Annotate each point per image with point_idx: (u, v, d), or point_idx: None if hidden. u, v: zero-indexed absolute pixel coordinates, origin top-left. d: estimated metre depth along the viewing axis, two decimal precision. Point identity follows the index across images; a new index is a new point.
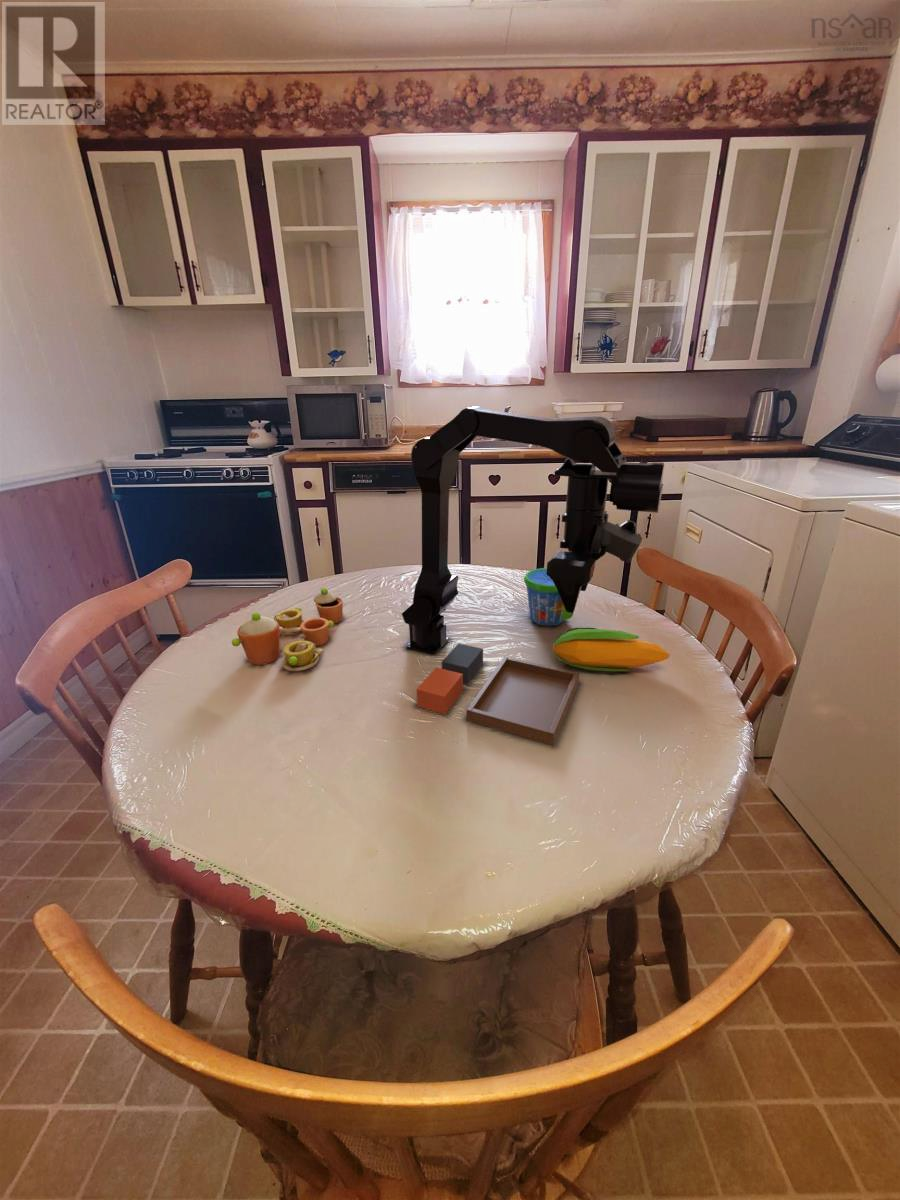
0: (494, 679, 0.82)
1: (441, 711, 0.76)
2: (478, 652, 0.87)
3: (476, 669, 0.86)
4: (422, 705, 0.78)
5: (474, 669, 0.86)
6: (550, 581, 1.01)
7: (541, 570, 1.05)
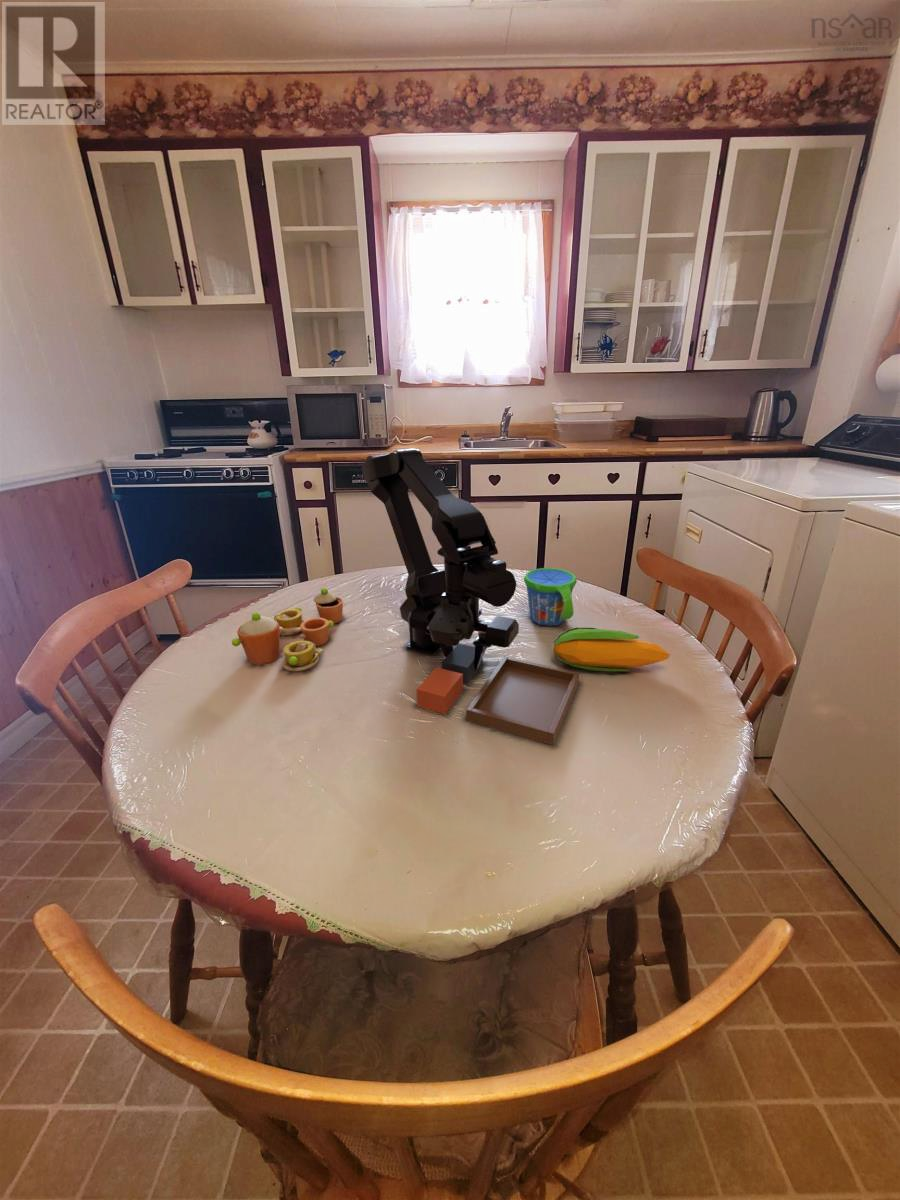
0: (494, 679, 0.82)
1: (441, 711, 0.76)
2: None
3: None
4: (422, 705, 0.78)
5: (474, 669, 0.86)
6: (550, 581, 1.01)
7: (541, 570, 1.05)
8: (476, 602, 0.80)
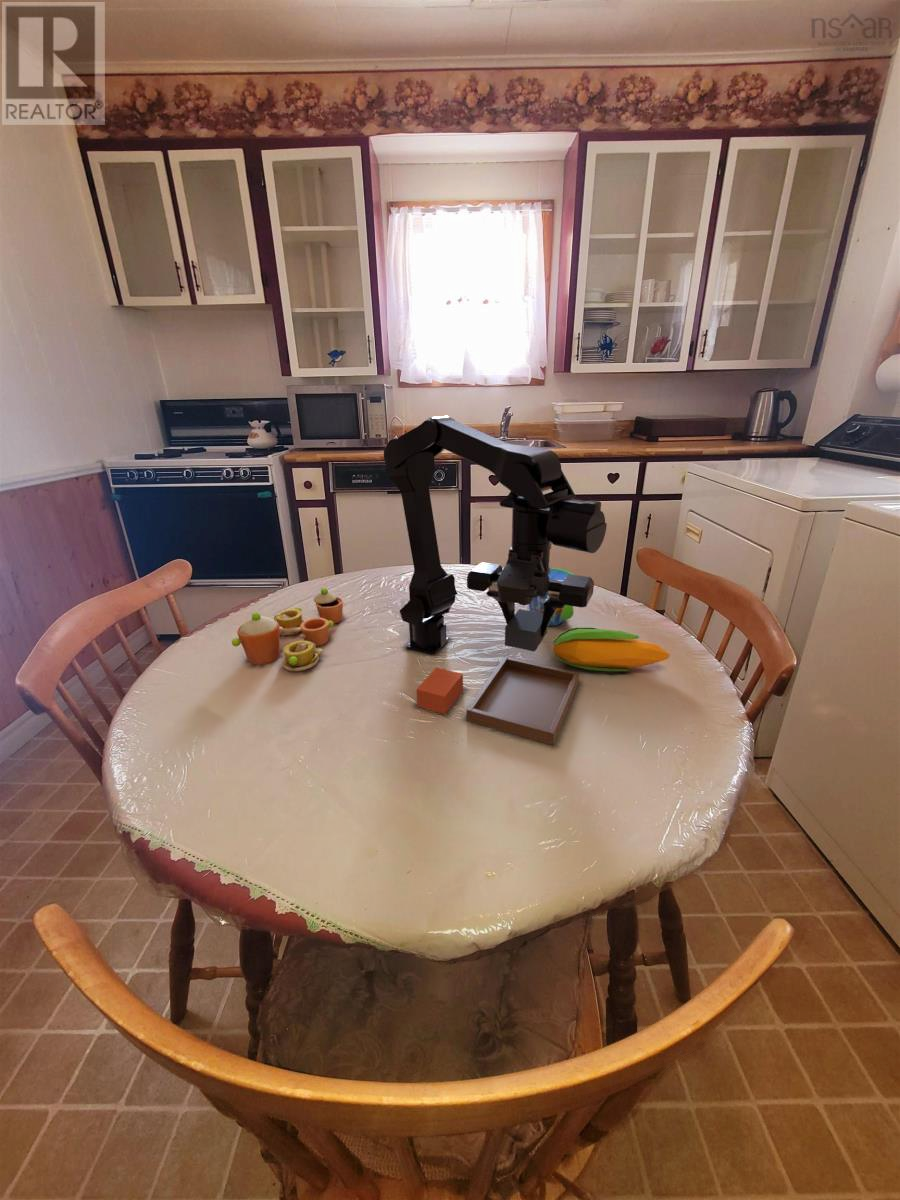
0: (494, 679, 0.82)
1: (441, 711, 0.76)
2: None
3: (542, 636, 0.77)
4: (422, 705, 0.78)
5: (540, 636, 0.76)
6: None
7: None
8: (547, 558, 0.71)
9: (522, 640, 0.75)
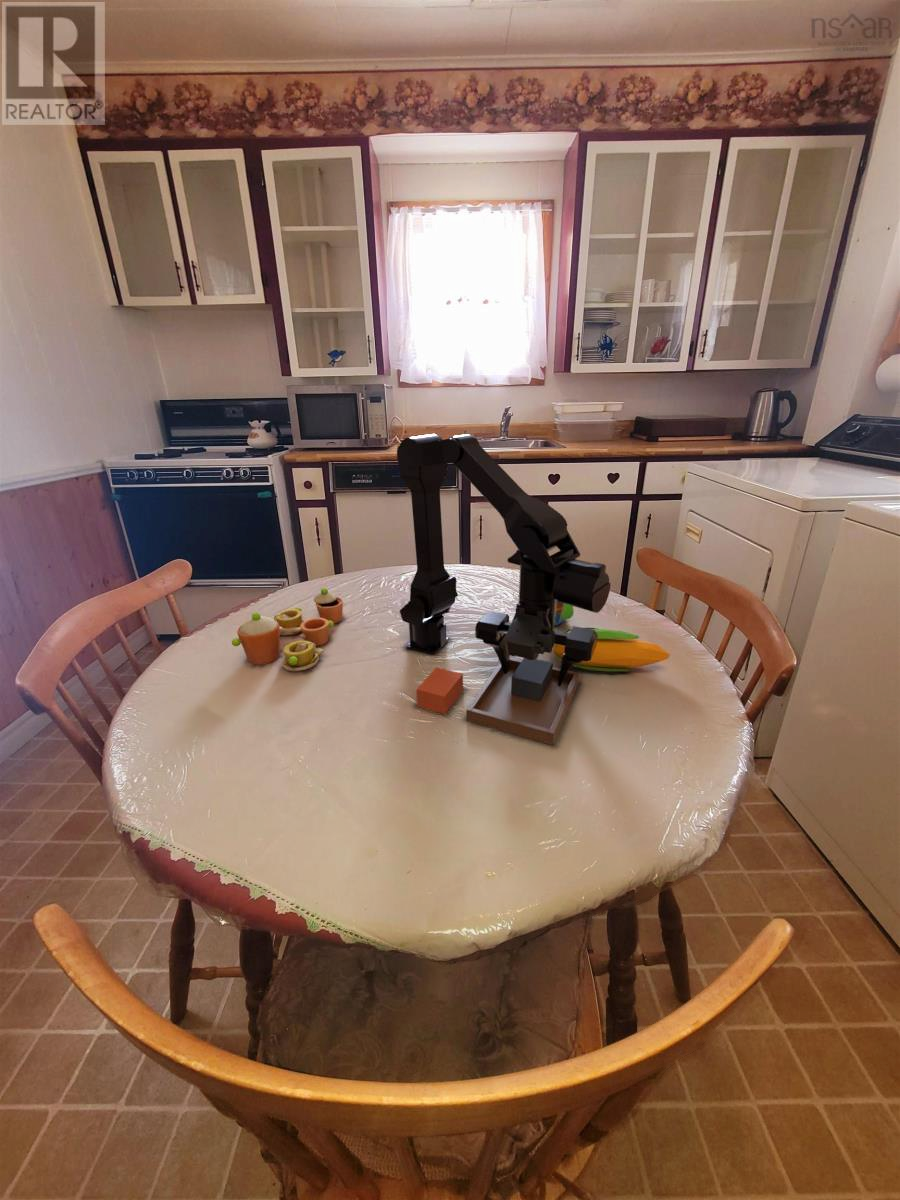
0: (494, 679, 0.82)
1: (441, 711, 0.76)
2: (548, 667, 0.81)
3: (547, 685, 0.81)
4: (422, 705, 0.78)
5: (545, 685, 0.80)
6: None
7: None
8: (553, 612, 0.74)
9: (528, 690, 0.78)
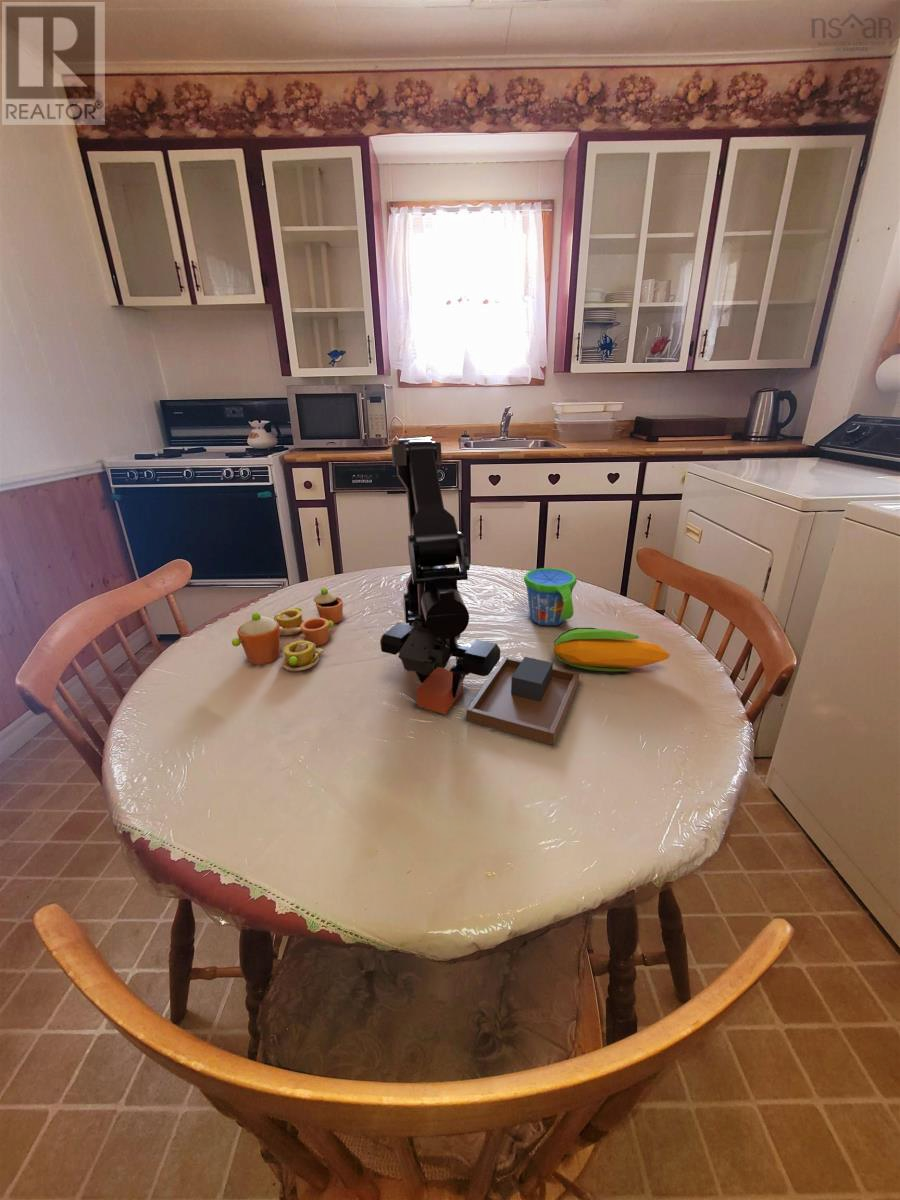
0: (494, 679, 0.82)
1: (441, 711, 0.76)
2: (548, 667, 0.81)
3: (547, 685, 0.81)
4: (422, 705, 0.78)
5: (545, 685, 0.80)
6: (550, 581, 1.01)
7: (541, 570, 1.05)
8: None
9: (528, 690, 0.78)
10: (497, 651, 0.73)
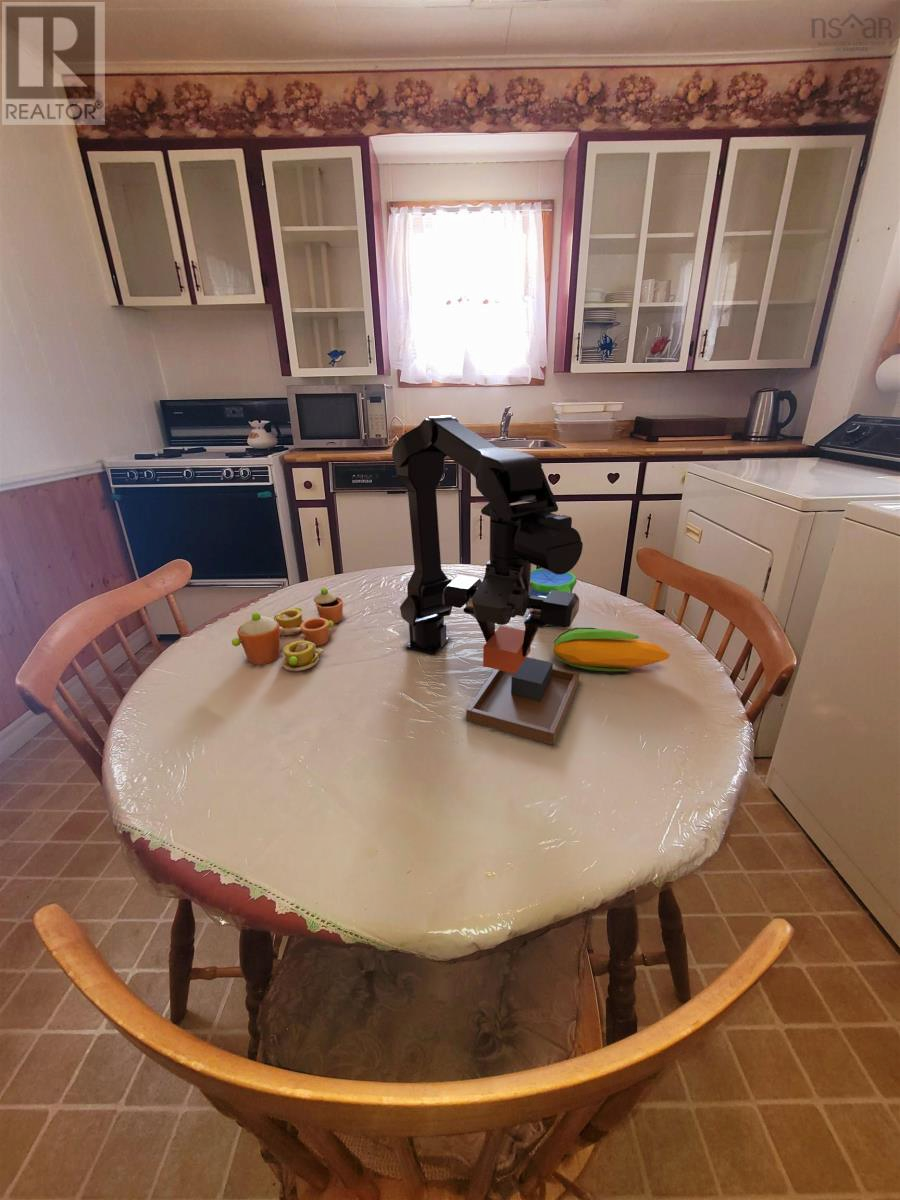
0: (494, 679, 0.82)
1: (511, 670, 0.69)
2: (548, 667, 0.81)
3: (547, 685, 0.81)
4: (489, 664, 0.70)
5: (545, 685, 0.80)
6: (550, 581, 1.01)
7: (541, 570, 1.05)
8: (528, 573, 0.65)
9: (528, 690, 0.78)
10: (577, 601, 0.66)
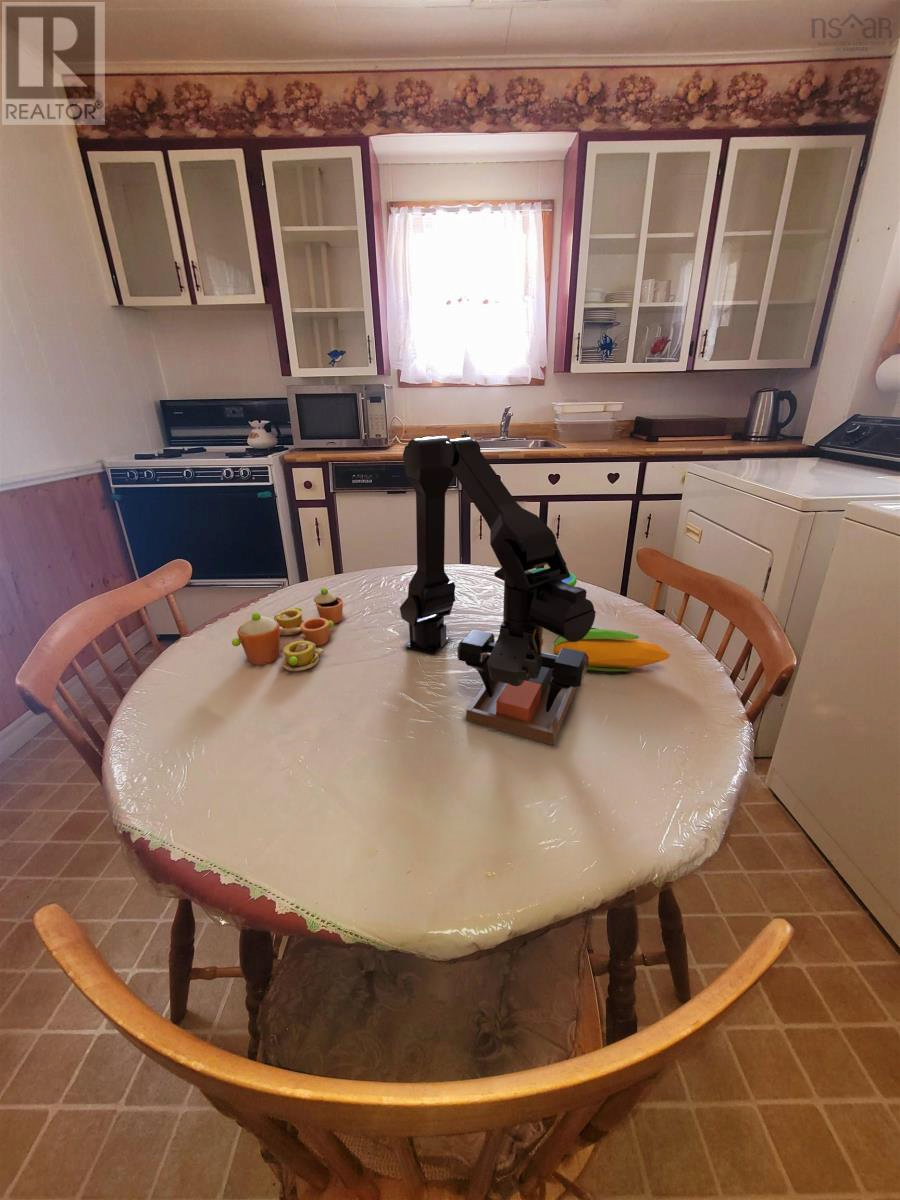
0: None
1: None
2: None
3: (547, 685, 0.81)
4: None
5: (545, 685, 0.80)
6: None
7: (541, 570, 1.05)
8: (540, 633, 0.68)
9: None
10: (587, 660, 0.69)
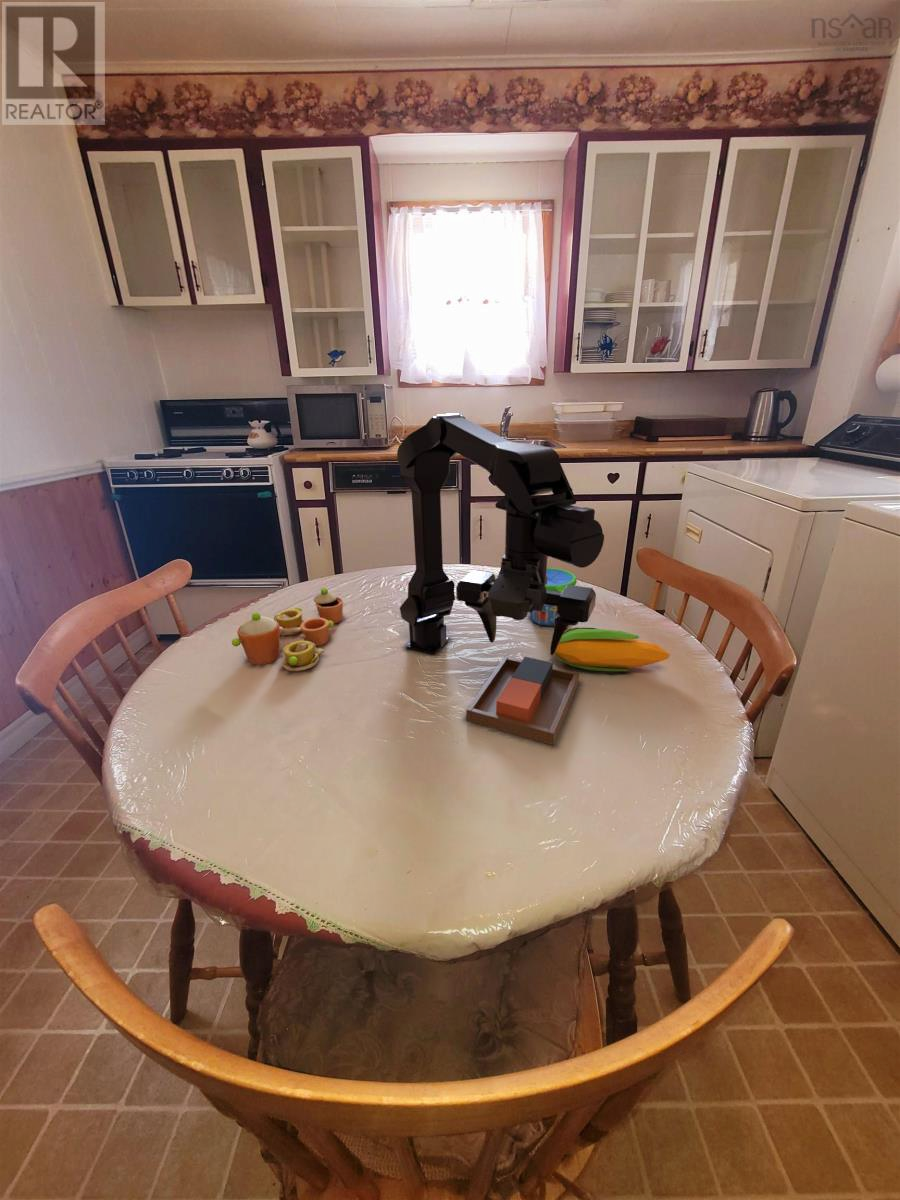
0: (494, 679, 0.82)
1: None
2: (548, 667, 0.81)
3: (547, 685, 0.81)
4: None
5: (545, 685, 0.80)
6: (550, 581, 1.01)
7: None
8: (544, 567, 0.64)
9: None
10: (594, 596, 0.65)
